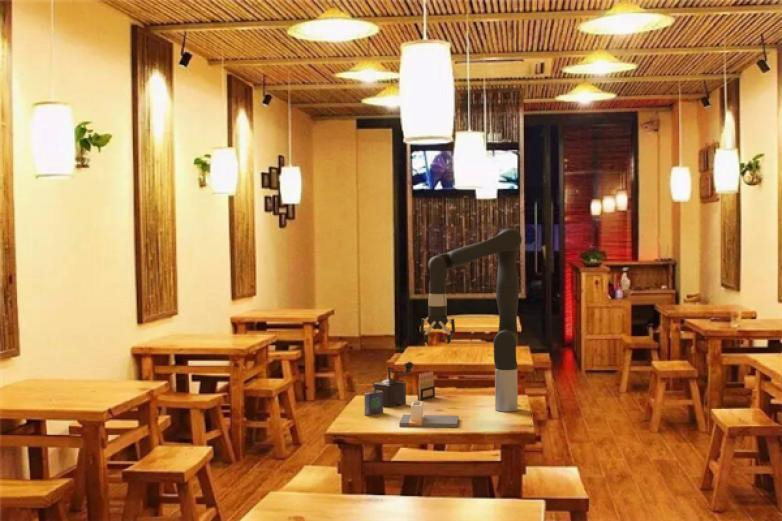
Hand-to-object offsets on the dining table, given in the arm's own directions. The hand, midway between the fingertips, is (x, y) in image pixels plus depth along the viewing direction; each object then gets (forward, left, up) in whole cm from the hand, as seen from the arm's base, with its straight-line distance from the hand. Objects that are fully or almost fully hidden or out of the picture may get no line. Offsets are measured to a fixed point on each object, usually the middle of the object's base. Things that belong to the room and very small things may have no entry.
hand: (437, 343), depth 386 cm
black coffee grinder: (+20, -15, -28) cm, 38 cm away
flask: (+26, +7, -28) cm, 39 cm away
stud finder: (+7, +22, -27) cm, 36 cm away
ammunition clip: (+7, -27, -28) cm, 40 cm away
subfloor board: (+2, +22, -28) cm, 36 cm away
